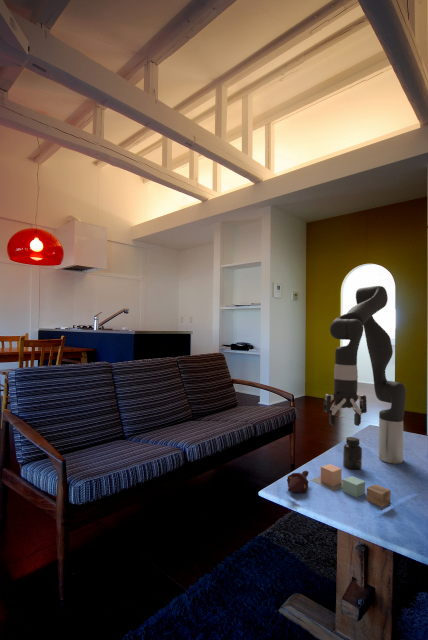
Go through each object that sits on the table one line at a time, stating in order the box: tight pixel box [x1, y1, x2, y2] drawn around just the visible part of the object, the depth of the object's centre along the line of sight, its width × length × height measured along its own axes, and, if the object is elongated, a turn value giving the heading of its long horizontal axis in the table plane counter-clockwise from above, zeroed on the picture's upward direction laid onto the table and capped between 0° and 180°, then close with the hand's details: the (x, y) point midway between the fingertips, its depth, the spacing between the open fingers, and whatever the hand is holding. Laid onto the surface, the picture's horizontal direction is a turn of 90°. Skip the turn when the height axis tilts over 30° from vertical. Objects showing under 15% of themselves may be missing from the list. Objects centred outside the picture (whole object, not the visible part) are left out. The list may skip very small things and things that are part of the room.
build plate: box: [310, 475, 343, 492], centre depth 125 cm, size 10×10×1 cm
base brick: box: [320, 463, 343, 486], centre depth 125 cm, size 5×5×5 cm
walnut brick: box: [366, 483, 392, 511], centre depth 112 cm, size 5×5×5 cm
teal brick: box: [342, 475, 366, 498], centre depth 118 cm, size 5×5×5 cm
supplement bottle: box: [342, 436, 363, 471], centre depth 139 cm, size 7×7×12 cm
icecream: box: [286, 470, 309, 494], centre depth 118 cm, size 7×7×15 cm
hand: (344, 425), depth 120 cm, fingers open, 8 cm apart
